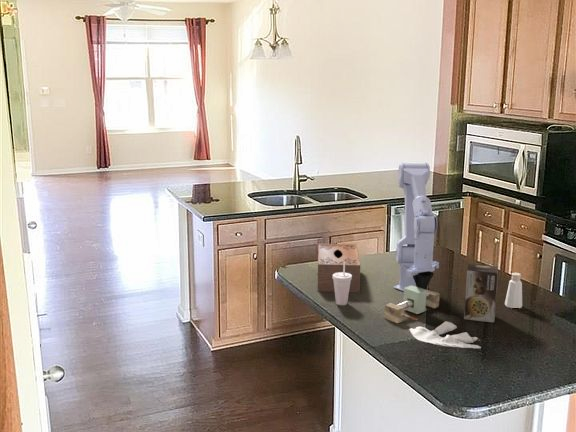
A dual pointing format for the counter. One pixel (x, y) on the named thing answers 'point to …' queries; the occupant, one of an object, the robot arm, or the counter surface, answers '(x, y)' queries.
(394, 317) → the pipe supports
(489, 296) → the printed cardboard box
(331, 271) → the tissue box cover
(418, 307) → the collar
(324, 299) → the counter surface
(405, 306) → the pipe
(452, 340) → the cloth
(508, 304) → the pepper shaker
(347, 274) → the smoothie
